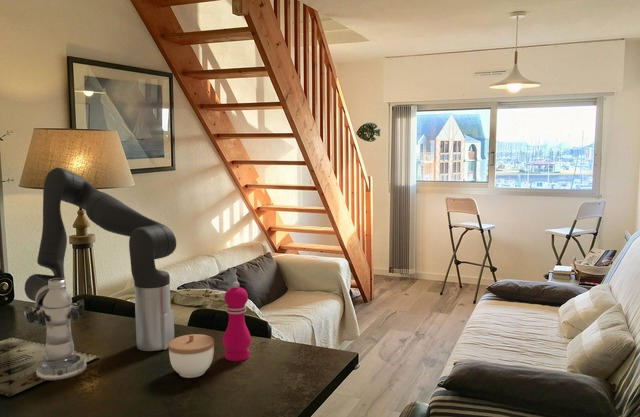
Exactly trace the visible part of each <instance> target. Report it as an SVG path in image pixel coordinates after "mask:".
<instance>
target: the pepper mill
mask: <svg viewBox="0 0 640 417" xmlns="http://www.w3.org/2000/svg"><path fill="white" fill-rule="evenodd" d="M223 299H224V302H225V304H226V305H227V306H226V313H227V314H228V323H227V327H226V329H225V331H224V333H223V337H222V344H223V346H224V347H225V351H224V354H225V355H224V358H225V359H226V360H227V361H231V362H242V361H245V360H247V359H249V357H250V348H248V347H249V346H250V344H251V343H252V338H251V333H250V330H249V328H248V327H247V324H246V320H245V314H246V312H247V306H246V304H247V302H248V300H249V295H248V292H247V290H246V289H245V288H243V287H240V282H239V281H234V282H232V287H230V288H229V289H227V290H226V292H224V298H223Z"/></svg>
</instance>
